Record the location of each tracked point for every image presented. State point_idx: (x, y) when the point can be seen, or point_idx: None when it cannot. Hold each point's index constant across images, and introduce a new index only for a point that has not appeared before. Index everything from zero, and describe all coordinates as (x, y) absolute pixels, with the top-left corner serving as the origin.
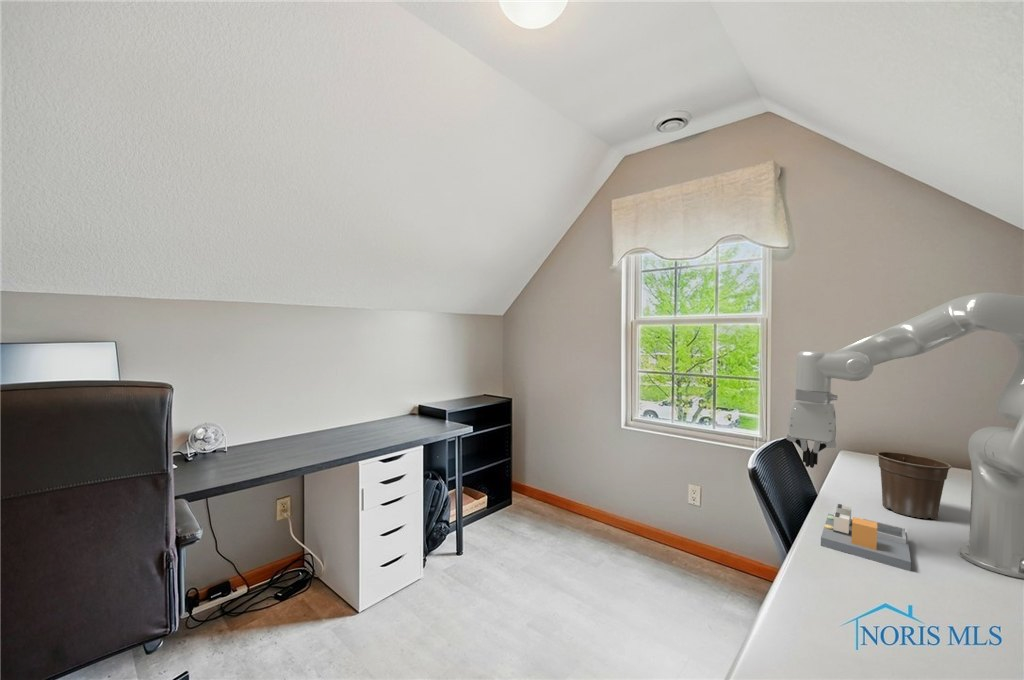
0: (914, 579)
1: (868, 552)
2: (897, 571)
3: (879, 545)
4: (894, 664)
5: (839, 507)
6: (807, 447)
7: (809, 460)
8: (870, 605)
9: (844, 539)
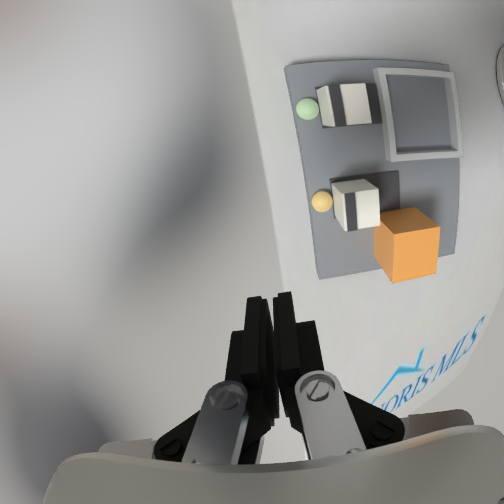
0: (444, 273)
1: None
2: None
3: None
4: None
5: (341, 125)
6: (256, 428)
7: (272, 346)
8: (384, 382)
9: (361, 246)
